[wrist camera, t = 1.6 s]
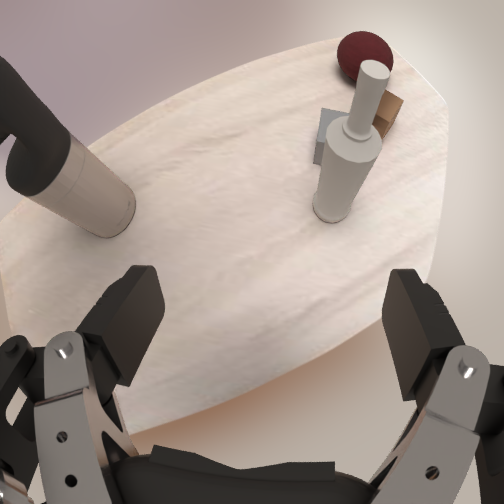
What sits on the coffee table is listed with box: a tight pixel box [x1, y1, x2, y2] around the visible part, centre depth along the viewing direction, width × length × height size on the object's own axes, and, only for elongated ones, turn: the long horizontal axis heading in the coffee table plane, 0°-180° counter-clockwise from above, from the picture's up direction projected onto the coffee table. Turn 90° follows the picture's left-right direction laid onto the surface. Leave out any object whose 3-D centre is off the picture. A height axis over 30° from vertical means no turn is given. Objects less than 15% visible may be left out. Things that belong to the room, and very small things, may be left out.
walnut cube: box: [372, 90, 403, 139], centre depth 39 cm, size 6×6×6 cm
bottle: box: [313, 60, 390, 223], centre depth 27 cm, size 5×5×25 cm
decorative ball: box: [337, 31, 393, 81], centre depth 40 cm, size 10×10×10 cm
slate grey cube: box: [313, 108, 350, 165], centre depth 39 cm, size 6×6×6 cm
